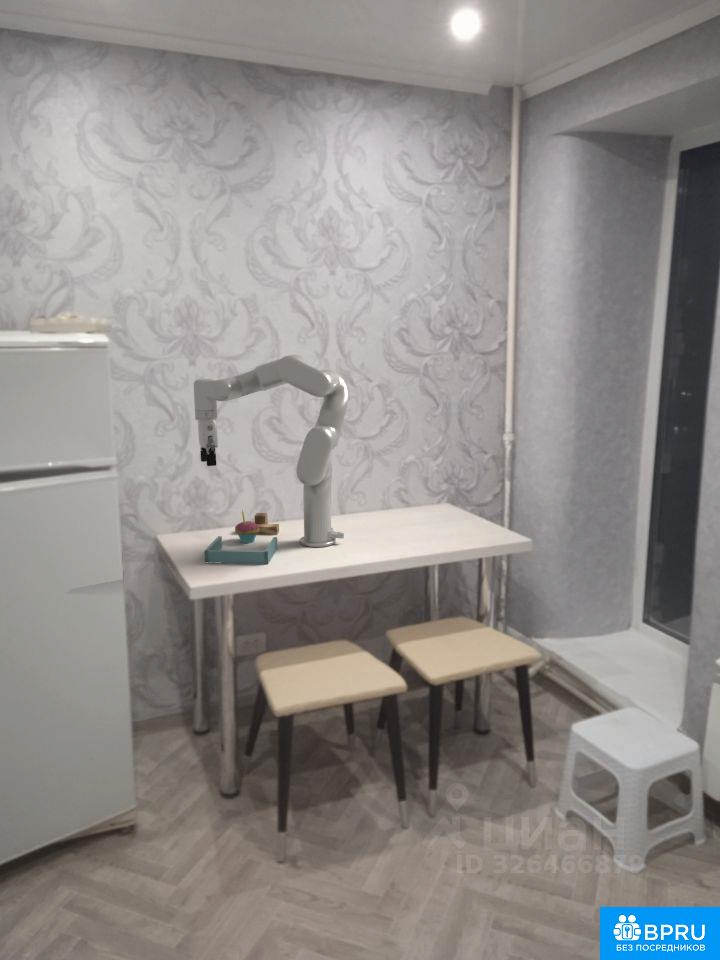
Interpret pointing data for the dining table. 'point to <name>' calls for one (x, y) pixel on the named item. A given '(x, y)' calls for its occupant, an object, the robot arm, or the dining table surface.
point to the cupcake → (247, 530)
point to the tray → (239, 554)
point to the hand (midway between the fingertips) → (208, 463)
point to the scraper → (265, 525)
